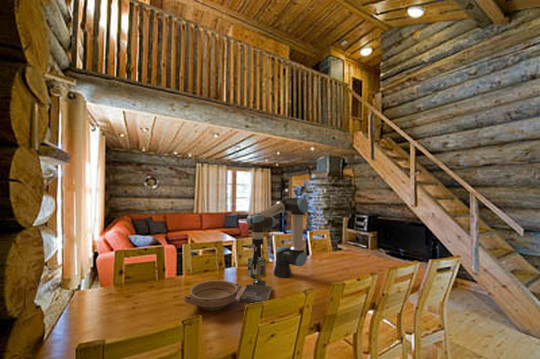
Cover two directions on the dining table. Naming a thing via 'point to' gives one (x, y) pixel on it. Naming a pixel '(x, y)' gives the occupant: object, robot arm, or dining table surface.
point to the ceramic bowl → (213, 294)
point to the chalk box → (260, 268)
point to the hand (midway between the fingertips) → (256, 271)
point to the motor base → (256, 292)
